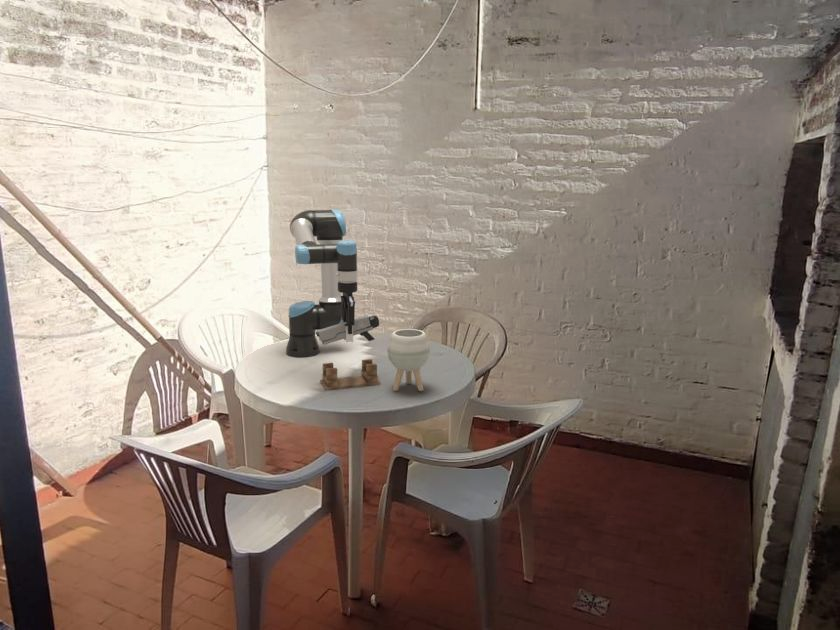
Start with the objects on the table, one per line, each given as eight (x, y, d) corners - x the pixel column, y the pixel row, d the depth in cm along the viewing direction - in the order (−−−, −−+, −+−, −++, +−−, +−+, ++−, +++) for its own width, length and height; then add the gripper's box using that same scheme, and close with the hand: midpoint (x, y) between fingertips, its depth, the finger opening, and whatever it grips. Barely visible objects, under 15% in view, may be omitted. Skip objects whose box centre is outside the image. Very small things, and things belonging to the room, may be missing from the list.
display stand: (325, 390, 245) (324, 370, 243) (320, 382, 254) (319, 363, 252) (380, 384, 252) (380, 365, 250) (373, 376, 261) (373, 357, 259)
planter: (434, 393, 243) (435, 336, 238) (393, 397, 238) (393, 339, 233) (422, 380, 258) (422, 326, 253) (383, 383, 253) (383, 329, 248)
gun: (383, 336, 253) (377, 313, 251) (323, 356, 246) (316, 332, 243) (381, 335, 256) (375, 312, 253) (321, 354, 249) (315, 330, 246)
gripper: (333, 278, 251) (334, 336, 256) (342, 285, 236) (343, 346, 241) (351, 278, 253) (352, 335, 258) (362, 284, 239) (363, 344, 244)
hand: (348, 340), depth 250 cm, fingers closed on gun, 2 cm apart
